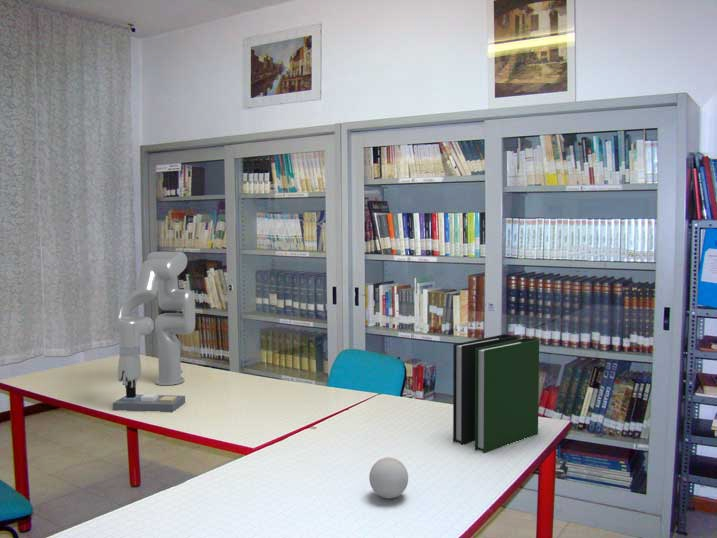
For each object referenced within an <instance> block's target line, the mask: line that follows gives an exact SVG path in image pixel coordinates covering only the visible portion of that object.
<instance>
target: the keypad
mask: <svg viewBox="0 0 717 538" xmlns="http://www.w3.org/2000/svg"><path fill="white" fill-rule="evenodd" d="M139 395H140V397H142V396H143V395H144V394H139ZM158 396H159V398H158V399H157V400H155V401H153V402H150V401H141V400H140V398H139V399H138V400H136V401H122V398H124V397H126V395H124V396H123V397H121V398H119V399H117V400H115V401H114V402H112V411H113V410H127V411H126V412H145V411H160V412H159V413H174V412H175V411H177V410H178V409H180V408H181V407H182V406H183V405H185V404H186V395H176V396H177V399H176V400H174V401H173V402H159V399H161V398H162V397H164V396H175V395H174V394H173V395H166V394H164V395H163V394H158ZM184 403H185V404H184ZM180 406H181V407H180ZM176 409H177V410H176ZM173 411H174V412H173Z"/></svg>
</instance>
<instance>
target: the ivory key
mask: <svg viewBox="0 0 717 538" xmlns="http://www.w3.org/2000/svg"><path fill="white" fill-rule="evenodd" d="M142 395H143V396H142V397H140V400H141V401H150V402H153V401H155V400H157V399H158V398H159V396H158V395H159V393H145V394H142Z"/></svg>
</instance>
